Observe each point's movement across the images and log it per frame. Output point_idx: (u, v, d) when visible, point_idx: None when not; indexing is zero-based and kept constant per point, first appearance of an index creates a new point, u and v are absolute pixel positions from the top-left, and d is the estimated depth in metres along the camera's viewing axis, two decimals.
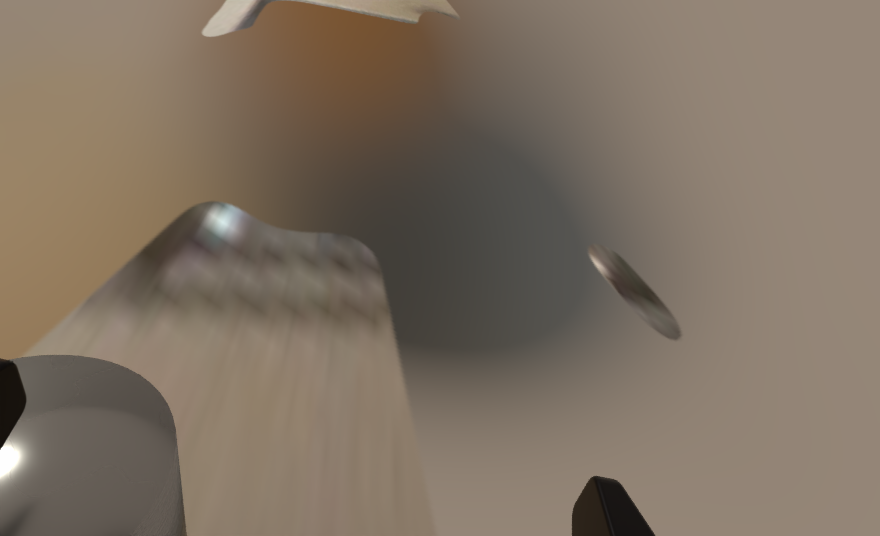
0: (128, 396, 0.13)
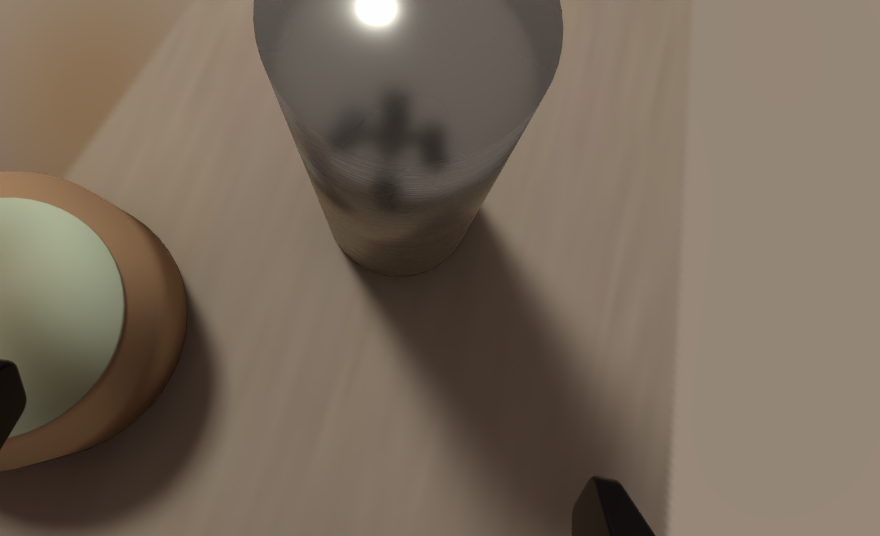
0: None
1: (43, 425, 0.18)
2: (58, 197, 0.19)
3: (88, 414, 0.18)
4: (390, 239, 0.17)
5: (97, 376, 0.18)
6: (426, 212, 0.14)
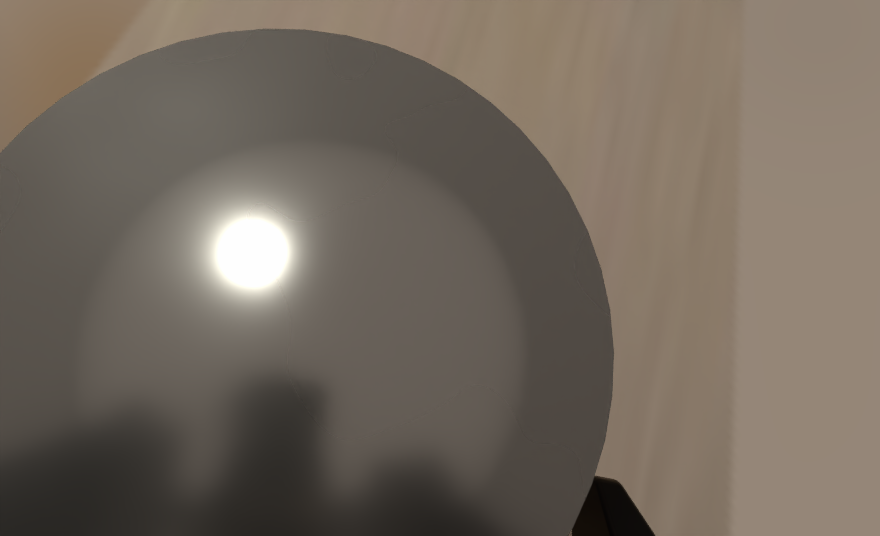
0: (502, 191, 0.05)
1: None
2: None
3: None
4: None
5: None
6: None
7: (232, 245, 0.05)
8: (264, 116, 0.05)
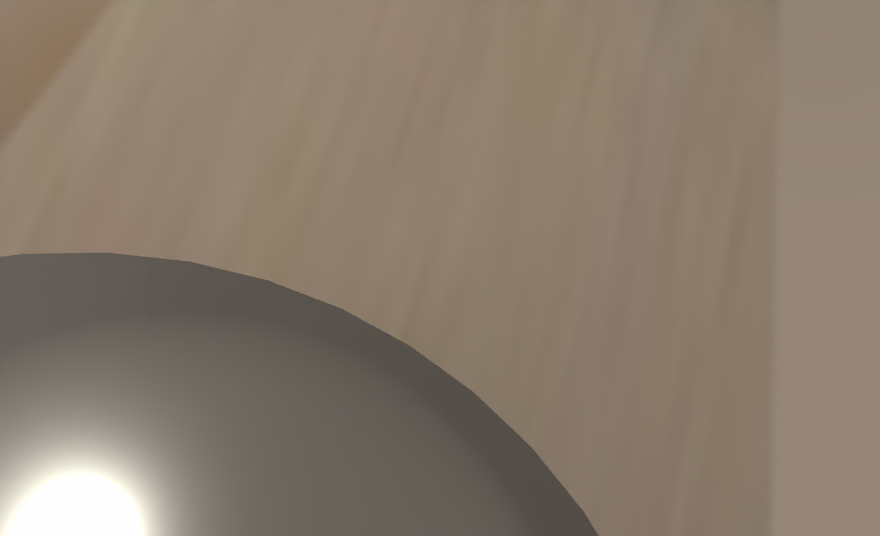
0: None
1: None
2: None
3: None
4: None
5: None
6: None
7: None
8: (9, 447, 0.03)
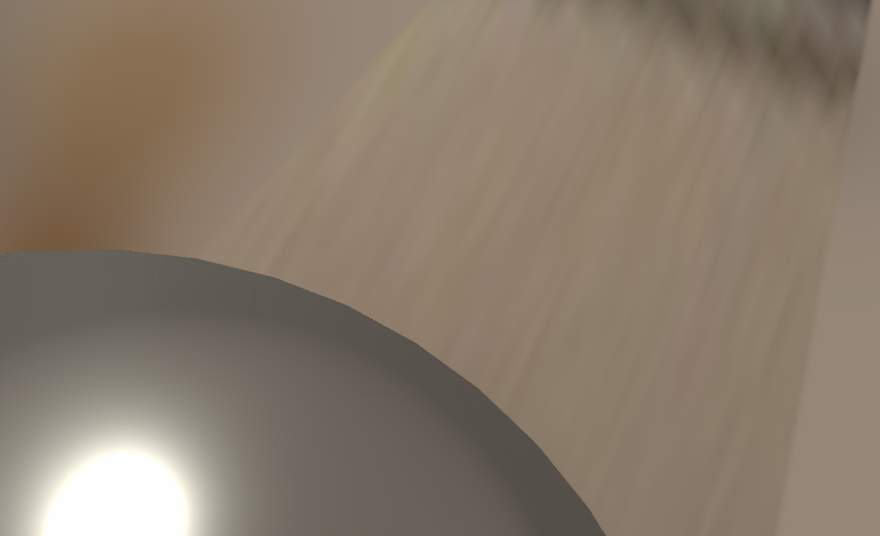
0: None
1: None
2: None
3: None
4: None
5: None
6: None
7: None
8: (15, 444, 0.03)
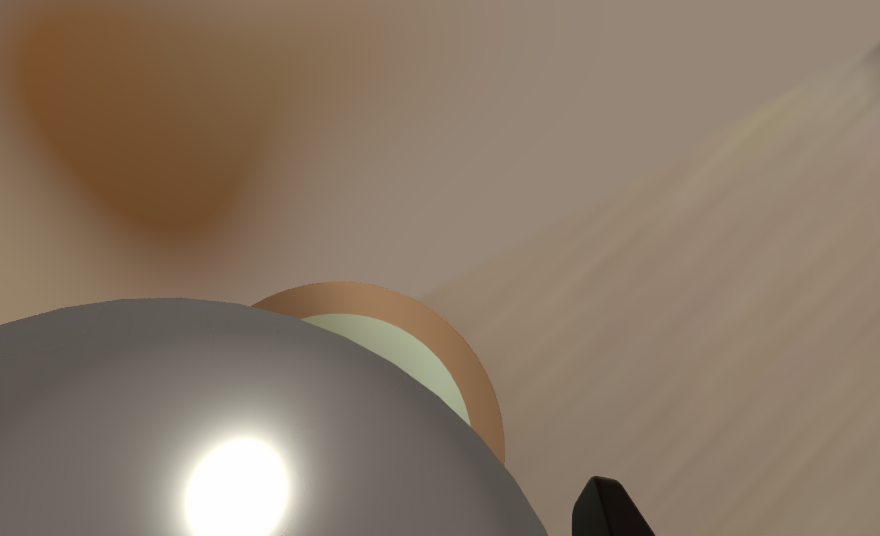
0: (451, 532, 0.04)
1: None
2: (450, 356, 0.17)
3: None
4: None
5: None
6: None
7: None
8: (118, 432, 0.04)
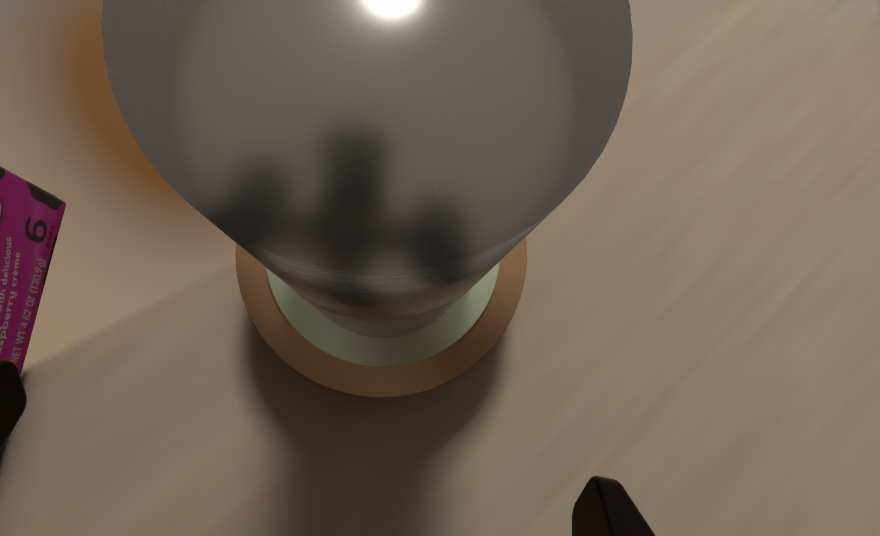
0: None
1: (373, 366, 0.19)
2: None
3: (411, 378, 0.19)
4: (364, 320, 0.12)
5: (437, 351, 0.19)
6: (410, 304, 0.09)
7: None
8: None
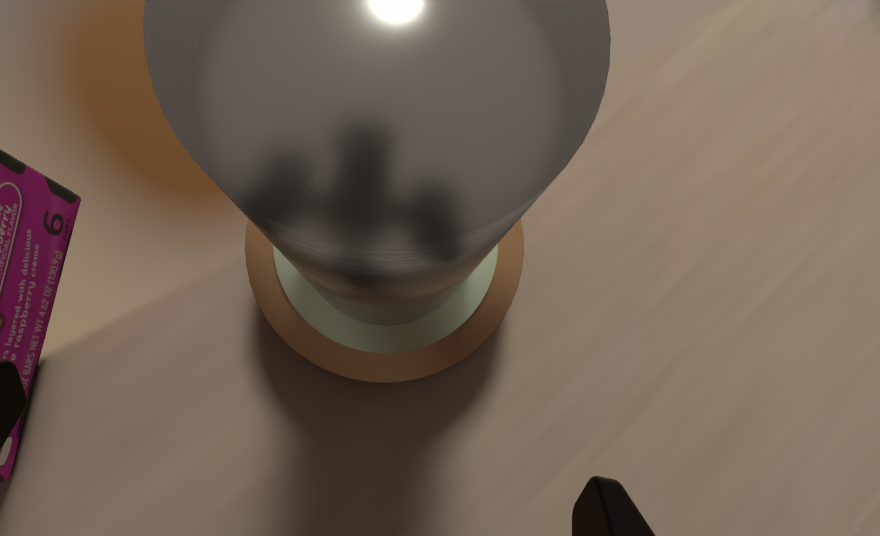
0: None
1: (376, 352, 0.19)
2: None
3: (413, 365, 0.20)
4: (370, 303, 0.13)
5: (438, 338, 0.20)
6: (413, 285, 0.10)
7: None
8: None
